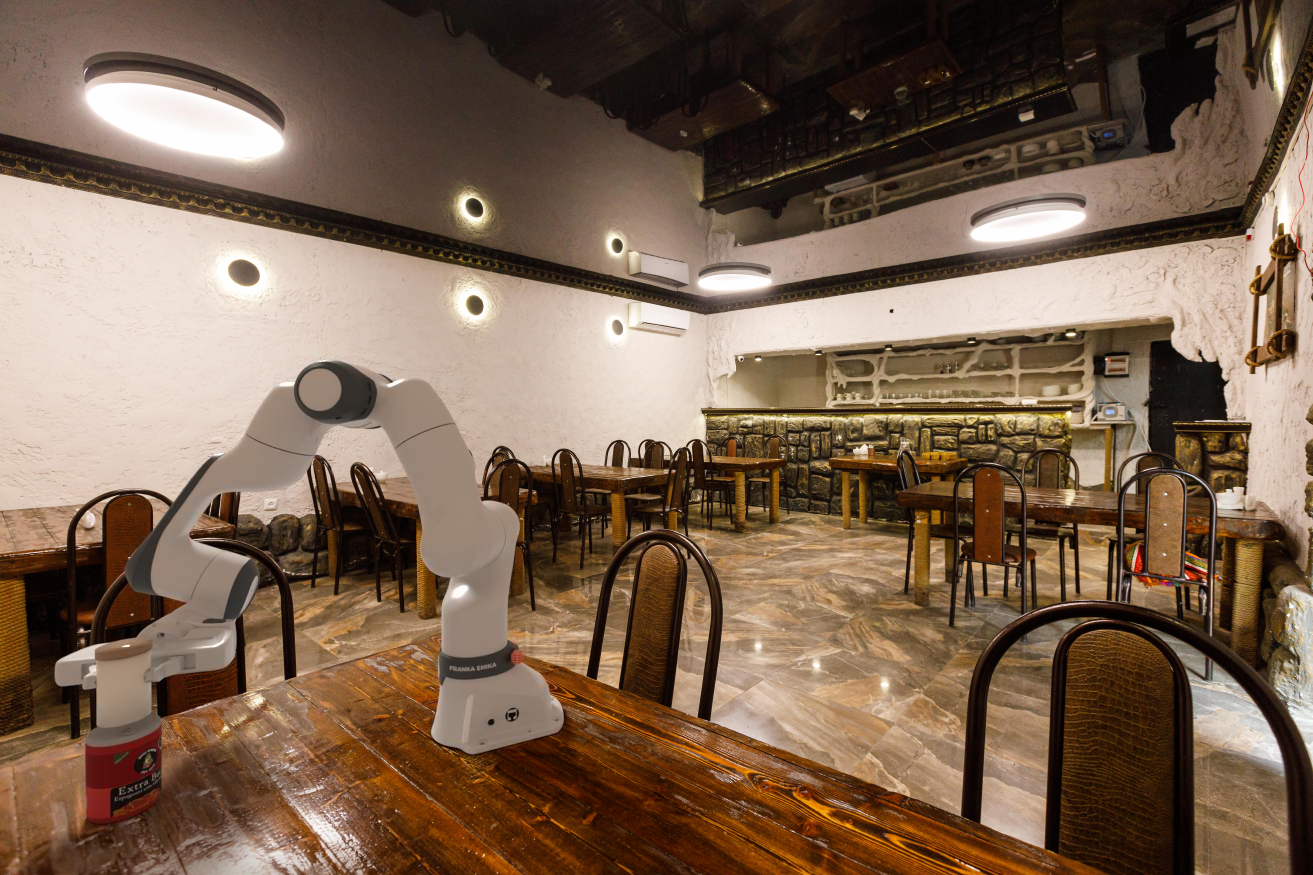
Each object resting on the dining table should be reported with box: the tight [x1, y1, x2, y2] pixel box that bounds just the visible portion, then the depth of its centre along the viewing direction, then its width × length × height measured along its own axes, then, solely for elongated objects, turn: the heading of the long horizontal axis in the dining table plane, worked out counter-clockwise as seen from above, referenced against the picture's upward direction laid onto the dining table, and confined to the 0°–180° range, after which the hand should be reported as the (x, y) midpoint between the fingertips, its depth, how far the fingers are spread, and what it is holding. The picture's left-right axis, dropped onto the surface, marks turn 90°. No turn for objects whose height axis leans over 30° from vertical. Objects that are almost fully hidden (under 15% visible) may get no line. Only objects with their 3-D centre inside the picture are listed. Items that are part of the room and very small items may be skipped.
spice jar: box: [95, 637, 152, 728], centre depth 78 cm, size 6×6×10 cm
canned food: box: [84, 713, 163, 824], centre depth 78 cm, size 8×8×11 cm
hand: (120, 679), depth 77 cm, fingers closed on spice jar, 5 cm apart
